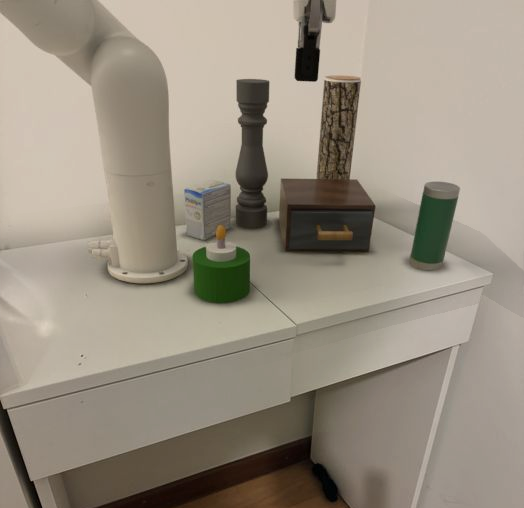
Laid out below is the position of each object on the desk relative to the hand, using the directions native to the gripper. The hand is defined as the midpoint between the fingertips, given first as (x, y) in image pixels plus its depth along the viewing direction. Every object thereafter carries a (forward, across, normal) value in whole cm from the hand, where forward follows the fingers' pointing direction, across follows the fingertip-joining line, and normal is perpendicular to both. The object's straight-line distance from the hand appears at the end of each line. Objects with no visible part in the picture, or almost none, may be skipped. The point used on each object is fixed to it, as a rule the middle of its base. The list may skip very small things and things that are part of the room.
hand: (305, 80), depth 74 cm
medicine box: (+27, +10, +15) cm, 33 cm away
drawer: (+26, +5, -6) cm, 27 cm away
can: (+26, -3, -22) cm, 35 cm away
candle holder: (+27, +15, +7) cm, 32 cm away
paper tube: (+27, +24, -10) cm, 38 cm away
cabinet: (+27, +9, -6) cm, 29 cm away
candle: (+27, -14, +12) cm, 33 cm away
